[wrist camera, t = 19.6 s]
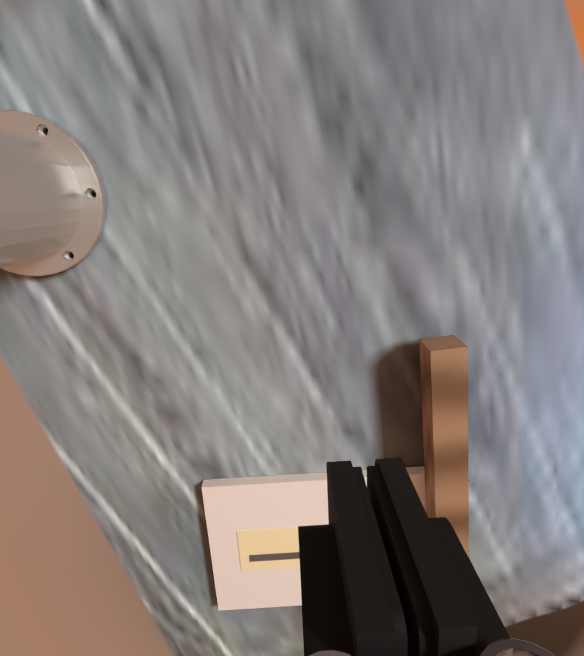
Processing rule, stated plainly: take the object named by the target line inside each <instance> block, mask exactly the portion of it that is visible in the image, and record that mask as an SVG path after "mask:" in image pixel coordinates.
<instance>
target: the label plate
mask: <svg viewBox="0 0 584 656" xmlns="http://www.w3.org/2000/svg"><path fill="white" fill-rule="evenodd" d="M406 470H407V472H408V474H409V476H410V478H411V481H412V483H413V485H414V487H415V489H416V492H417V494H418V496H419V498H420V500H421V503H422V505H423V507H424V509H425V511H426V495H425V470H424V466H419V467H406ZM362 472H363V476H364V479H365V483H366V486H367V470H362ZM202 495H203V502H204V509H205V516H206V523H207V531H208V538H209V545H210V552H211V559H212V566H213V574H214V581H215V588H216V595H217V602H218V610H234V609H250V608H265V607H281V606H297V605H302V598H301V578H300V558H299V538H298V526H311V525H327V524H329V520H328V493H327V472H322V473H306V474H290V475H273V476H257V477H241V478H225V479H208V480H203V484H202Z"/></svg>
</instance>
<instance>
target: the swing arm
mask: <svg viewBox="0 0 584 656" xmlns="http://www.w3.org/2000/svg"><path fill="white" fill-rule="evenodd" d="M419 347H420V372H421V396H422V421H423V446H424V470H425V495H426V514H427V516H428V518H439V517H445V518H447V519H448V520H449V522H450V523H451V525H452V526H453V528H454V530H455V532H456V534H457V536H458V538H459V540H460V542H461V544H462V546H463V548H464V550H465V552H466V554H467V556H468V557H469V541H468V348H467V346H466V345H465V344H464V343H462V342H461V341H460V340H459V339H457V338H456V337H455V336H454V335H450V336H442V337H435V338H427V339H419Z"/></svg>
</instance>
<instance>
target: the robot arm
mask: <svg viewBox="0 0 584 656" xmlns="http://www.w3.org/2000/svg"><path fill="white" fill-rule="evenodd" d="M47 128H48V134H46V129H47ZM93 191H95V192H96V197H94V196H93ZM105 220H106V198H105V190H104V186H103V183H102V180H101V177H100V174H99V172H98V170H97V168H96V166H95V164H94V162H93V160H92V159H91V157H90V156H89V154H88V153H87V152H86V150H85V149H84V148H83V146H82V145H81V144H80V143H79V142H78V141H77V140H76V139H75V138H74V137H72V136H71V135H70V134H69V133H68V132H66V131H65V130H64V129H62V128H61V127H59V126H58V125H56V124H55V123H52V122H50V121H48V120H46V119H44V118H41V117H39V116H35V115H32V114H29V113H26V112H19V111H12V110H2V111H0V269H3V270H5V271H8V272H10V273H15V274H20V275H24V276H45V275H51V274H56V273H59V272H62V271H65V270H67V269H69V268H71V267H73V266H75V265H77V264H78V263H80V262H81V261H82V260H83V259H85V258H86V257H87V256H88V255H89V254H90V252H91V251H92V250H93V249H94V247H95V246H96V244H97V242H98V240H99V238H100V236H101V234H102V232H103V228H104V224H105ZM71 252H72V253H73V255H74V258H73V257H72V256H71ZM327 493H328V520H329V524H327V525H311V526H298V538H299V558H300V578H301V598H302V618H303V638H304V656H555V655H553V654H552V653H551V652H549V651H548V650H546V649H544V648H542V647H540V646H537V645H535V644H533V643H531V642H527V641H523V640H518V639H510V637H509V635H508V633H507V631H506V629H505V627H504V625H503V623H502V621H501V619H500V617H499V615H498V614H497V612H496V610H495V608H494V606H493V604H492V602H491V600H490V598H489V596H488V594H487V592H486V590H485V588H484V586H483V585H482V583H481V581H480V579H479V577H478V575H477V573H476V571H475V569H474V567H473V565H472V563H471V561H470V559H469V557H468V556H467V554H466V552H465V550H464V548H463V546H462V544H461V542H460V540H459V538H458V536H457V534H456V532H455V530H454V528H453V526H452V525H451V523H450V522H449V520H448V519H447V518H445V517H439V518H428V516H427V514H426V511H425V509H424V507H423V505H422V503H421V500H420V498H419V496H418V494H417V492H416V489H415V487H414V485H413V483H412V481H411V478H410V476H409V474H408V472H407V470H406V467H405V465H404V463H403V461H402V459H401V458H386V459H376V460H375V466H368V467H367V486H366V483H365V479H364V476H363V472H362V469H361V467H352V463H351V461H337V462H327Z"/></svg>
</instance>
